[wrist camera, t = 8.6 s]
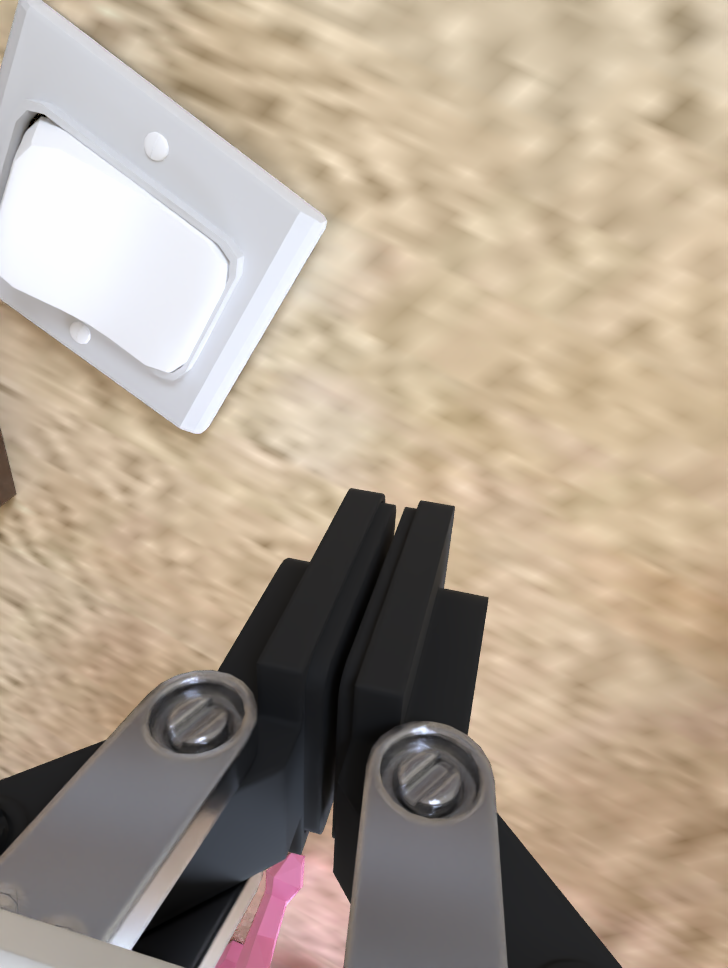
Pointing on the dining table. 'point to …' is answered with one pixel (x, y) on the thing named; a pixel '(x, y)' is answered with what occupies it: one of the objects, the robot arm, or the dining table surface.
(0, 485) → the back rail
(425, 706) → the robot arm
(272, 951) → the cat
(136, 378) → the light switch
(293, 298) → the dining table surface
